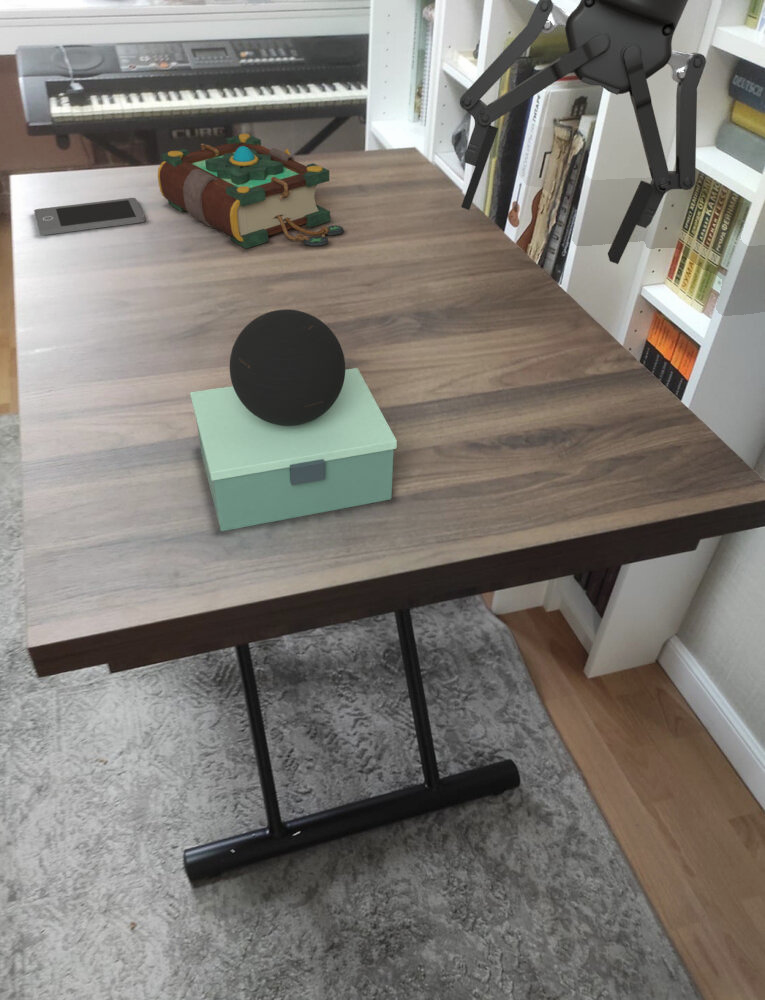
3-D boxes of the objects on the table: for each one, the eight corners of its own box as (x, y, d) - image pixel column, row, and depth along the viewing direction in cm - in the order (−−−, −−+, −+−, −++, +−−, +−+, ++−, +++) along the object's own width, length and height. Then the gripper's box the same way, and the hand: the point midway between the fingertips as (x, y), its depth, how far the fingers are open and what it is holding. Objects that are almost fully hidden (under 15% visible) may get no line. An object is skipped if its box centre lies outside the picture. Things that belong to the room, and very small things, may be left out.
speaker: (219, 440, 73) (206, 339, 66) (254, 378, 80) (246, 282, 74) (330, 456, 72) (329, 355, 65) (355, 392, 79) (356, 296, 72)
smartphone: (136, 201, 129) (135, 196, 129) (146, 221, 123) (145, 217, 123) (34, 213, 125) (33, 209, 124) (40, 235, 119) (39, 230, 118)
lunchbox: (355, 422, 87) (356, 365, 83) (395, 503, 78) (398, 443, 73) (197, 448, 83) (189, 389, 79) (219, 537, 74) (211, 476, 69)
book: (375, 228, 124) (377, 159, 118) (260, 268, 113) (255, 195, 107) (269, 176, 139) (265, 113, 132) (157, 207, 128) (147, 140, 121)
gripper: (796, 12, 65) (667, 269, 76) (496, -99, 65) (410, 176, 76) (824, 12, 59) (679, 293, 70) (491, -112, 58) (398, 191, 69)
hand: (539, 232), depth 73 cm, fingers open, 13 cm apart
